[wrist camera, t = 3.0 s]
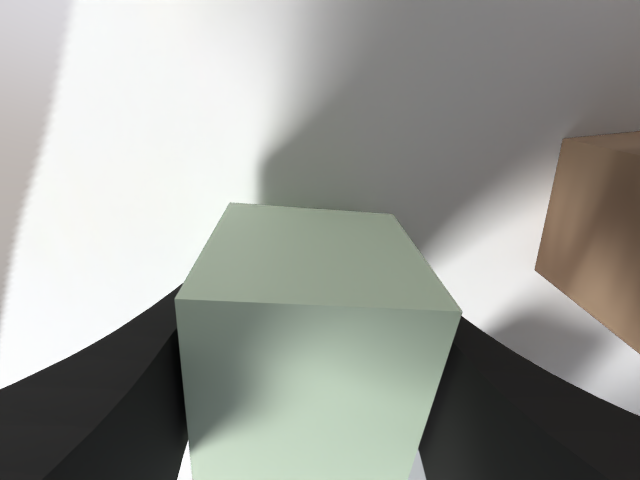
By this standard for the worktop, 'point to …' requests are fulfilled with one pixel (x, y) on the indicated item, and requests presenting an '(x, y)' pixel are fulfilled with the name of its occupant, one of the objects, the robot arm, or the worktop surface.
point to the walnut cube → (597, 230)
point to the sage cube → (310, 346)
